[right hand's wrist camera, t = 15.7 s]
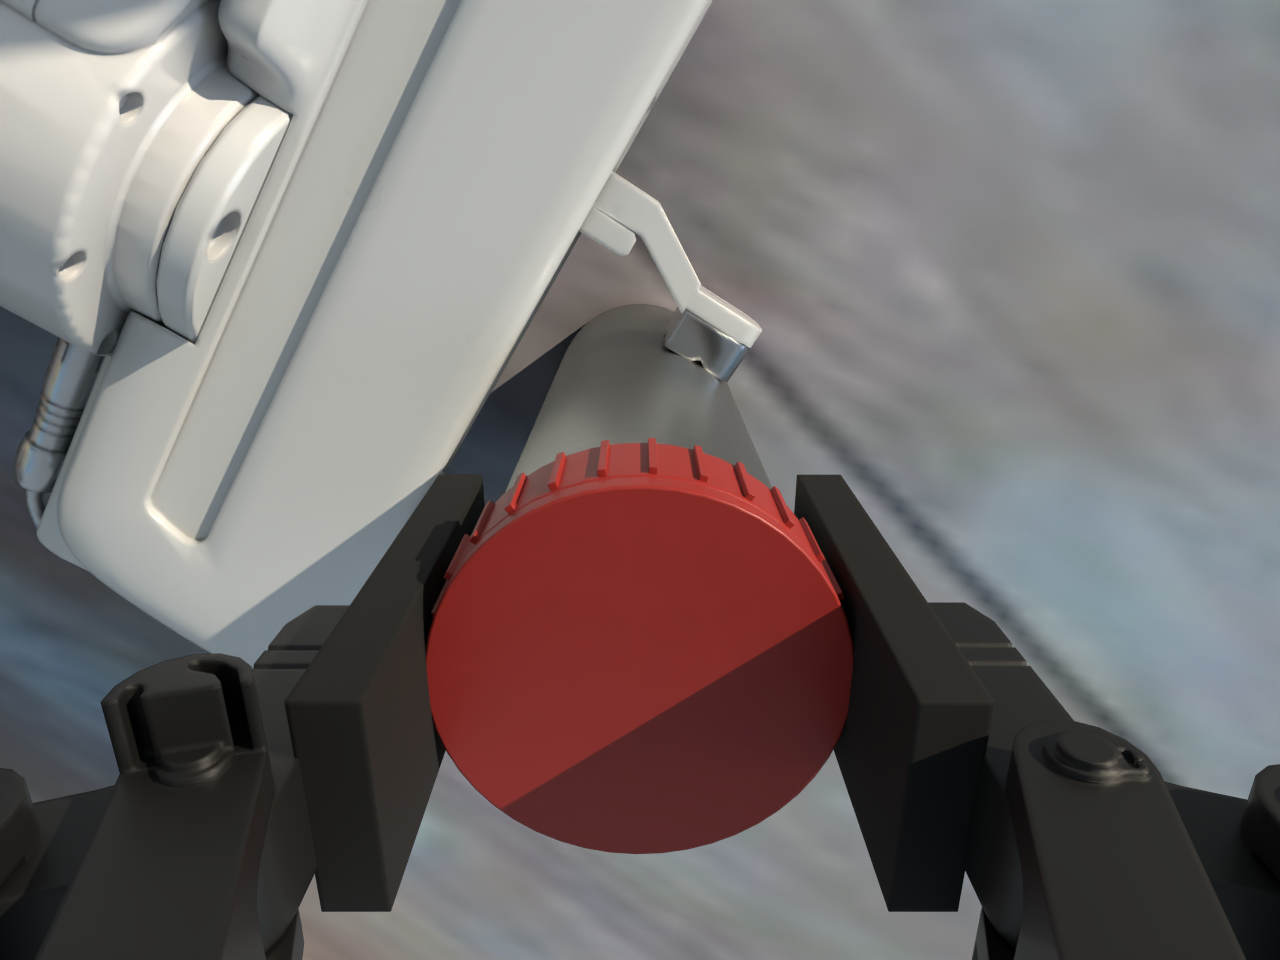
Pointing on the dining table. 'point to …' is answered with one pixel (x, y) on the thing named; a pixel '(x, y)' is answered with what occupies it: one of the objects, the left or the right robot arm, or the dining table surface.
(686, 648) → the lid
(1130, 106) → the dining table surface
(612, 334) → the jar
